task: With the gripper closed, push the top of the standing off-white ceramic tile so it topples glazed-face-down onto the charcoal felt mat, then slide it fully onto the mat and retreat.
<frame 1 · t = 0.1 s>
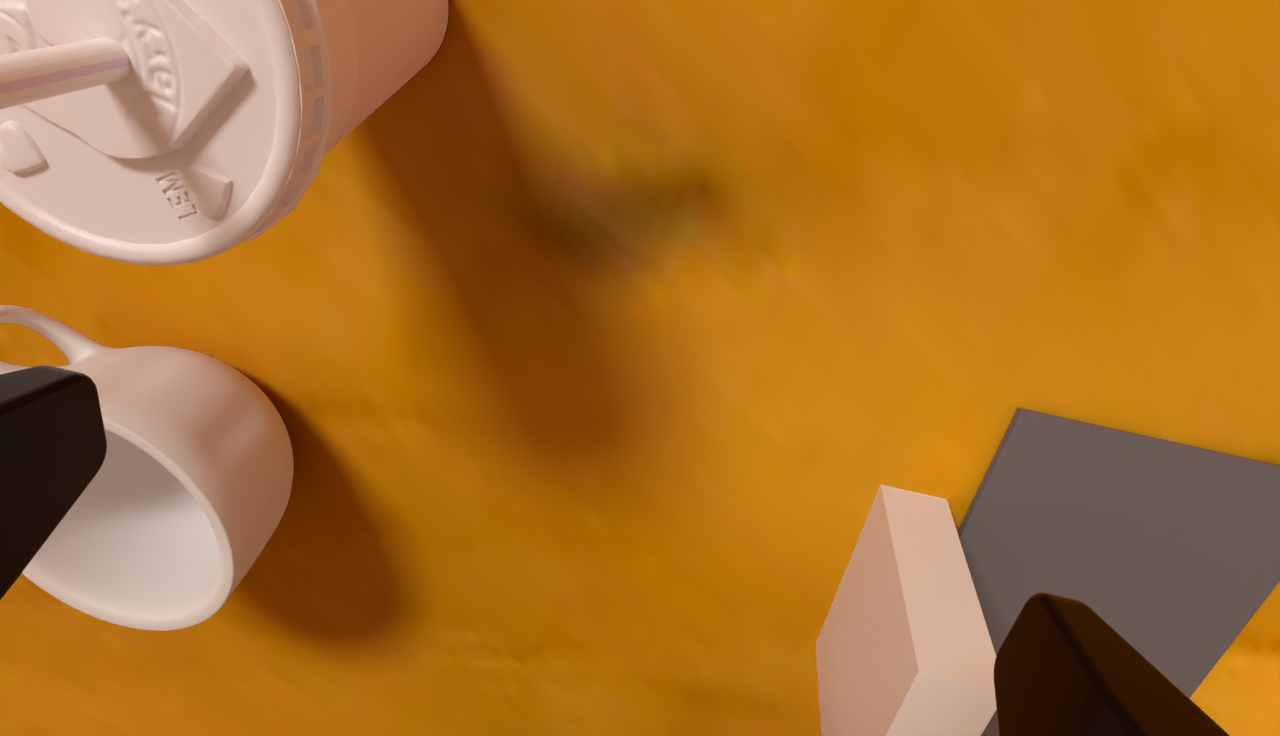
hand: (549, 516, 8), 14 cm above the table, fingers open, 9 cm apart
mat: (1069, 622, 26), on the table
tile: (876, 576, 26), on the table
teacup: (194, 391, 26), on the table
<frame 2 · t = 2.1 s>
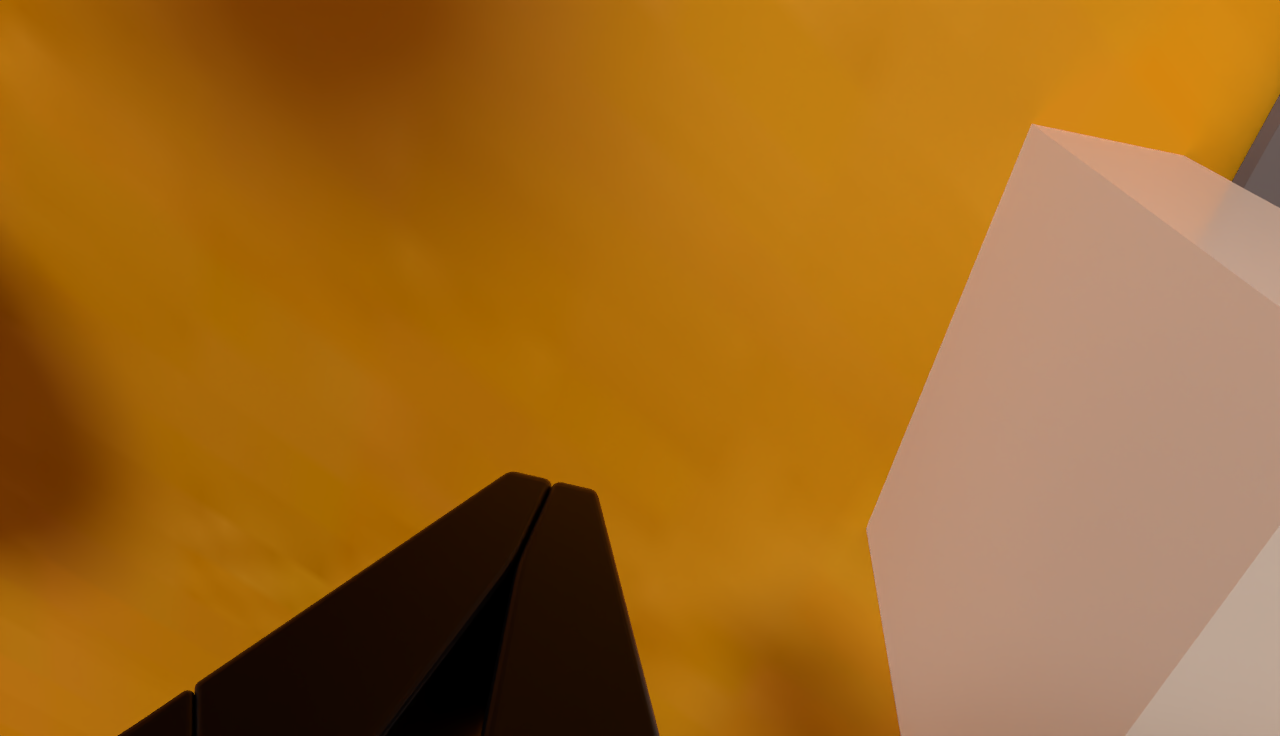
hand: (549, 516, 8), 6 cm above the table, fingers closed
tile: (1002, 367, 12), on the table
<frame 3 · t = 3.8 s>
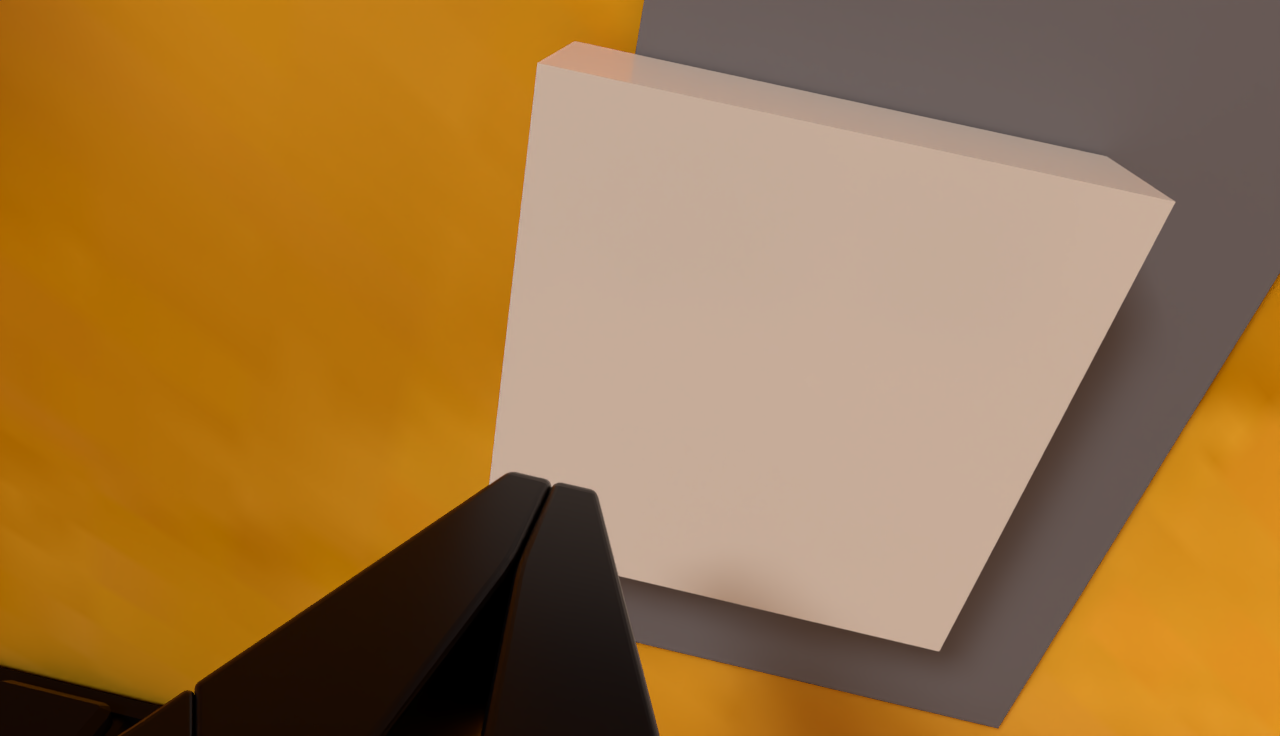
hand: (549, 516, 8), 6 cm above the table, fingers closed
mat: (883, 350, 12), on the table
tile: (525, 310, 11), point 1 cm above the table, tilted 90°, touching mat
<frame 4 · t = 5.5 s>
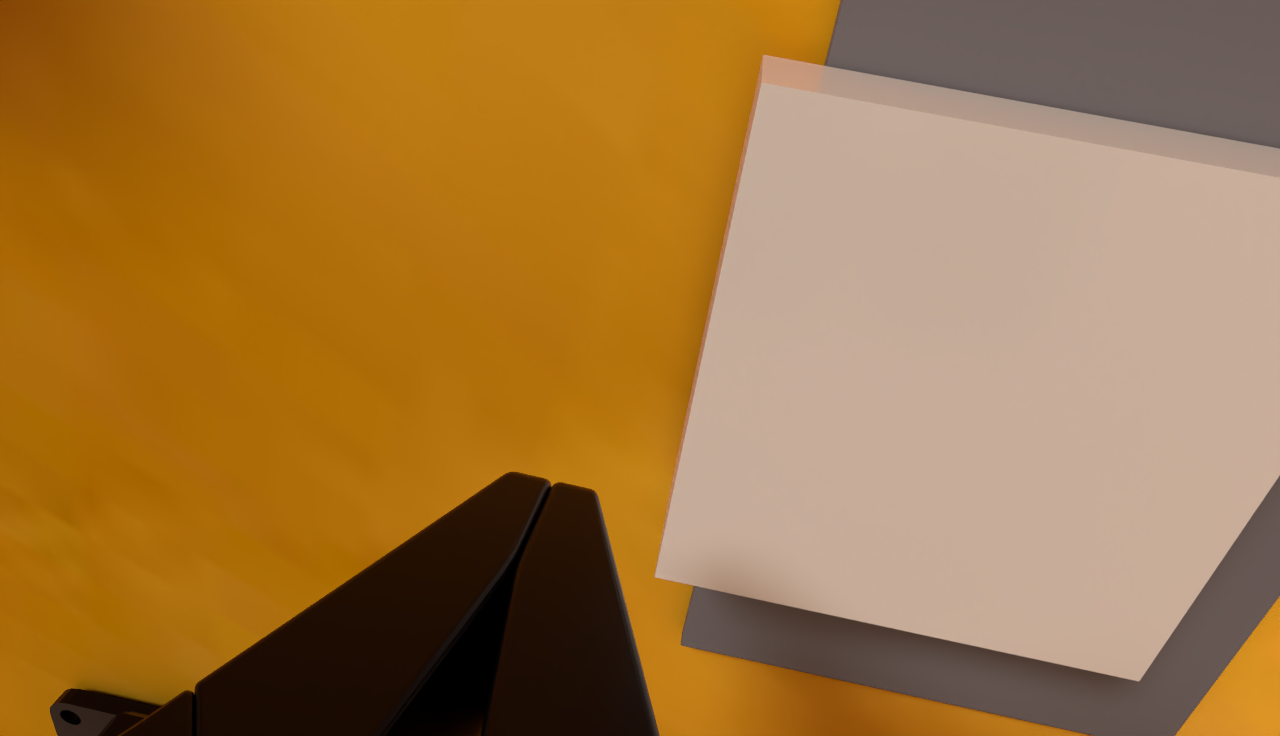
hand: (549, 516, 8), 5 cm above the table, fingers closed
mat: (1067, 366, 12), on the table
tile: (704, 336, 11), point 1 cm above the table, tilted 90°, touching mat
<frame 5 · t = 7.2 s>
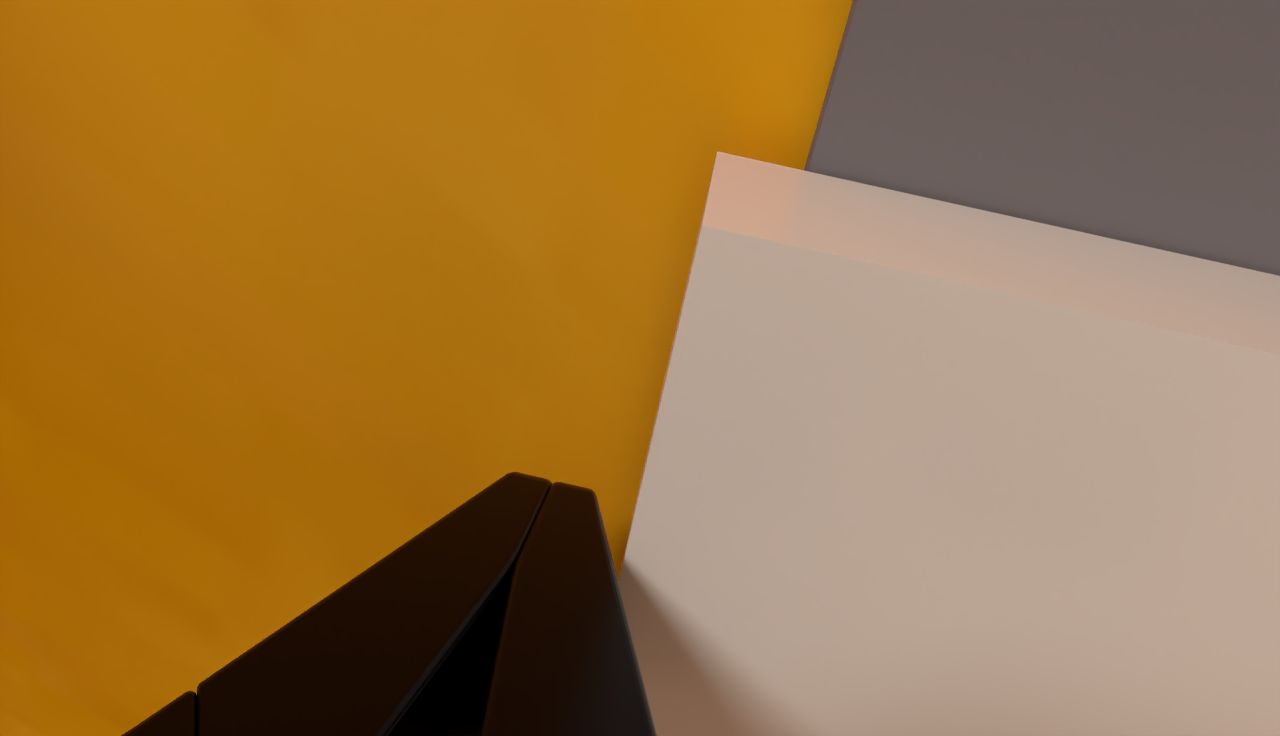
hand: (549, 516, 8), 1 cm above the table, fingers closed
mat: (1121, 566, 9), on the table
tile: (628, 534, 8), point 1 cm above the table, tilted 90°, touching gripper, mat
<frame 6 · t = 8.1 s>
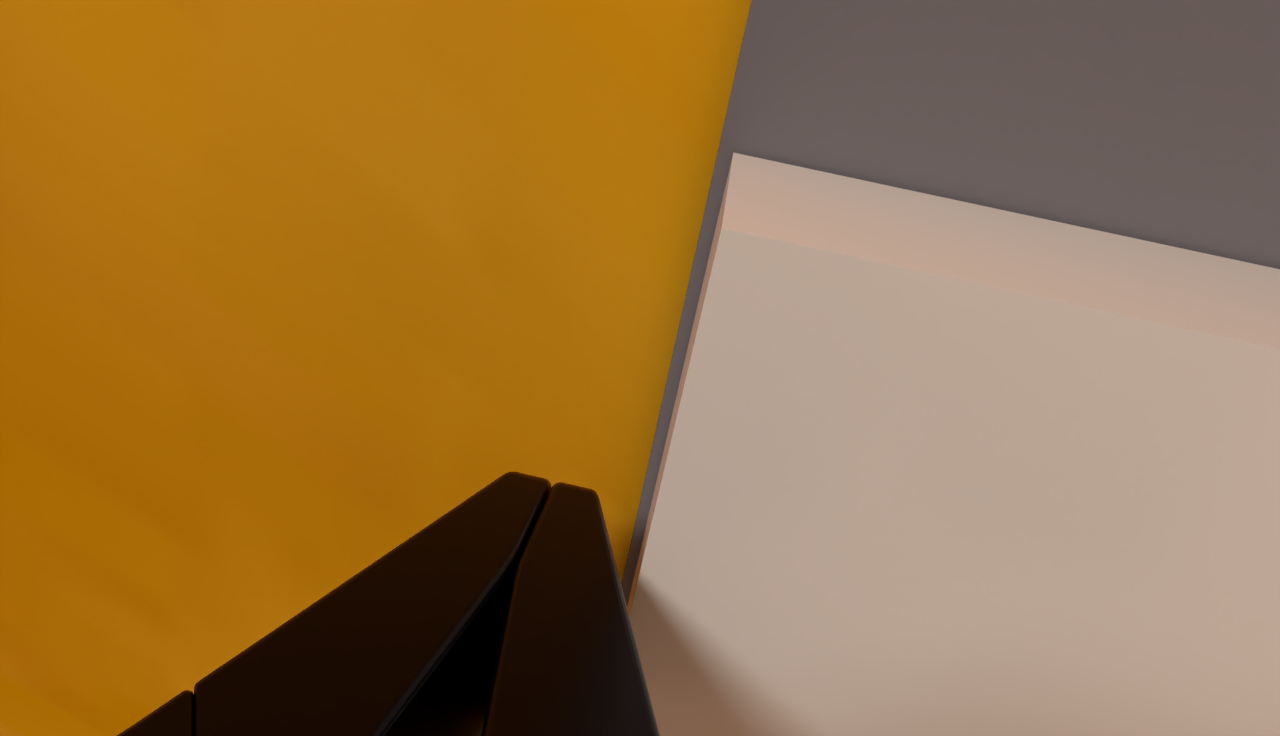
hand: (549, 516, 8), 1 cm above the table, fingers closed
mat: (1060, 544, 9), on the table
tile: (644, 540, 8), point 1 cm above the table, tilted 90°, touching mat
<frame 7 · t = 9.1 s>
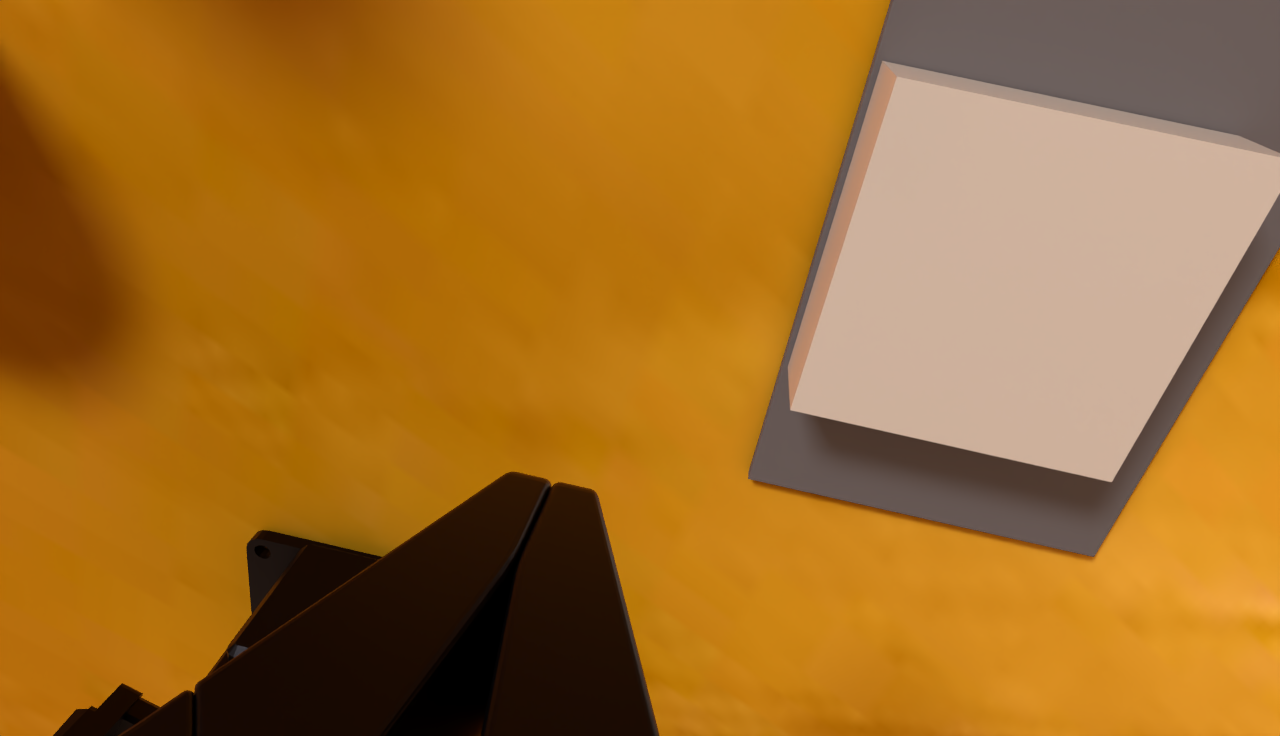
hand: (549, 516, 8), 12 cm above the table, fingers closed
mat: (1027, 263, 18), on the table
tile: (833, 244, 17), point 1 cm above the table, tilted 90°, touching mat
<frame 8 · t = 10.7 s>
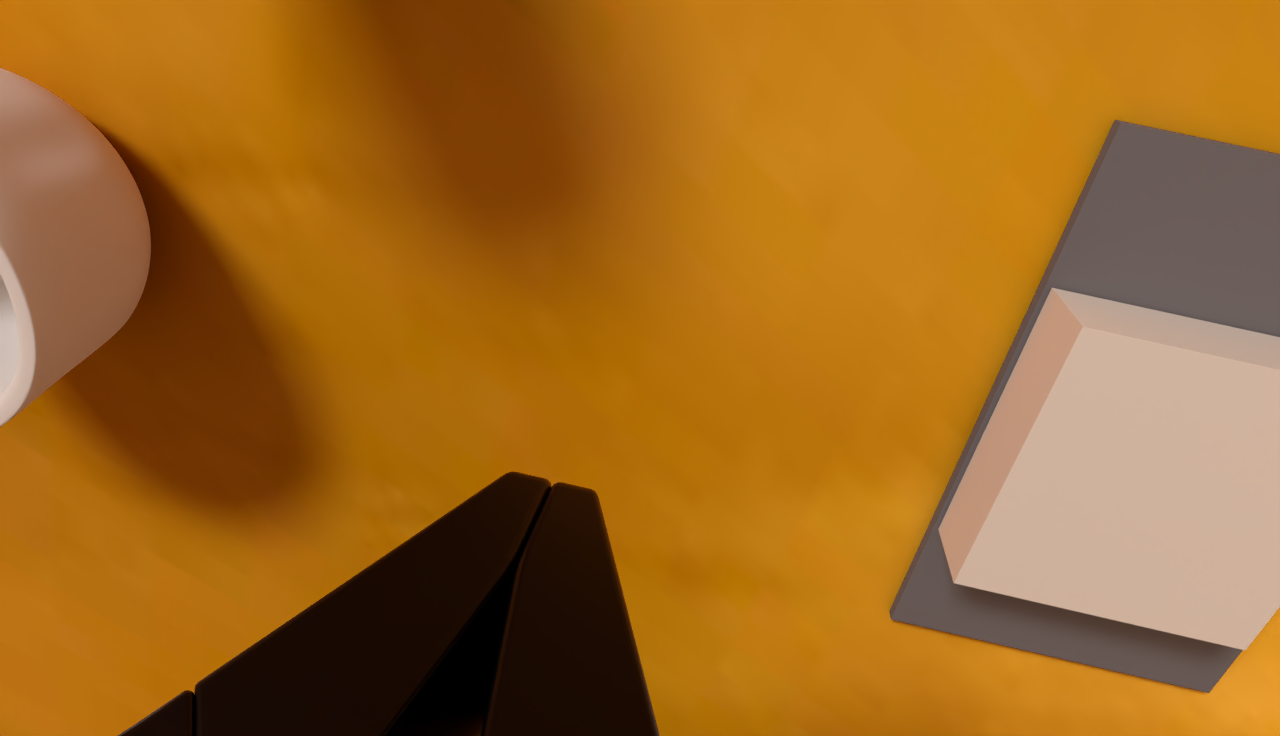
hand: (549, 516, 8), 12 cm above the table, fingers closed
mat: (1166, 449, 20), on the table
tile: (1000, 442, 19), point 1 cm above the table, tilted 90°, touching mat
teacup: (27, 154, 20), on the table
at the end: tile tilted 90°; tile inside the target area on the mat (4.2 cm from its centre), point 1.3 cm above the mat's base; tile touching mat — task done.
